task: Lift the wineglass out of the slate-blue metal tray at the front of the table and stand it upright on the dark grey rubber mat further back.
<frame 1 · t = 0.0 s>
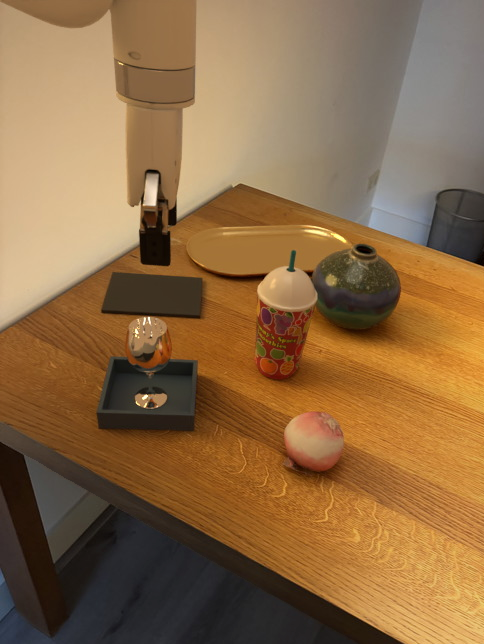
hand: (159, 243, 64), 22 cm above the table, tool pointing down, fingers open, 9 cm apart
smoothie: (275, 368, 84), on the table
onion: (308, 460, 71), on the table
serving platter: (272, 255, 111), on the table
wineglass: (151, 398, 75), resting on tray
tray: (151, 399, 75), on the table
vase: (347, 317, 97), on the table
mat: (154, 295, 95), on the table
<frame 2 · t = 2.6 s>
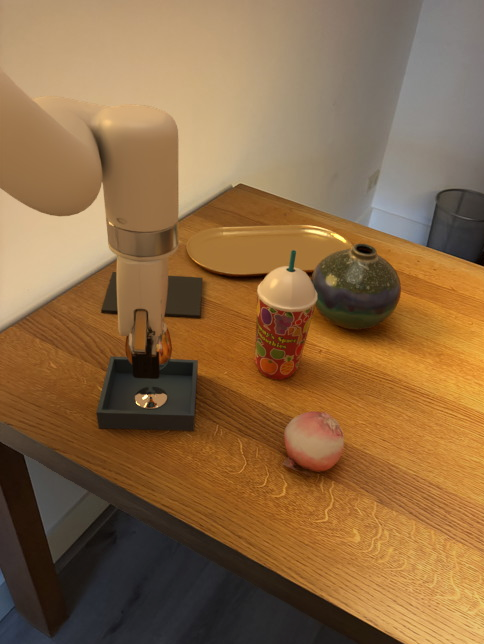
hand: (149, 359, 71), 7 cm above the table, tool pointing down, fingers closed on wineglass, 5 cm apart
wineglass: (151, 398, 75), resting on tray, touching gripper
everything else where it was.
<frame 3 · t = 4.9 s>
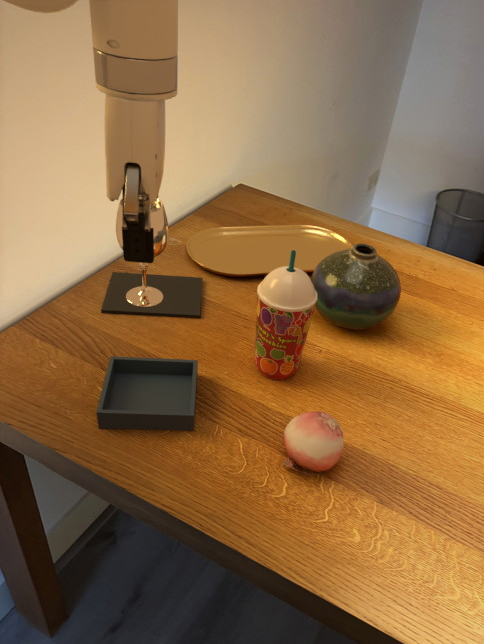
hand: (142, 245, 62), 22 cm above the table, tool pointing down, fingers closed on wineglass, 5 cm apart
wineglass: (144, 298, 67), point 15 cm above the table, touching gripper
everything else where it was.
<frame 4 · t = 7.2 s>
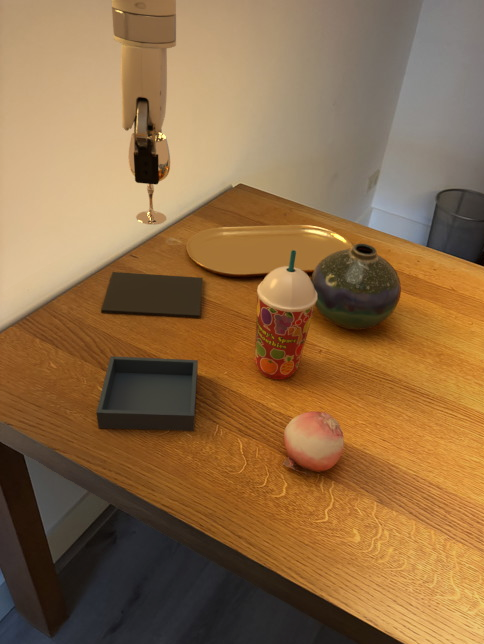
hand: (149, 172, 78), 22 cm above the table, tool pointing down, fingers closed on wineglass, 5 cm apart
wineglass: (151, 219, 83), point 15 cm above the table, touching gripper
everything else where it was.
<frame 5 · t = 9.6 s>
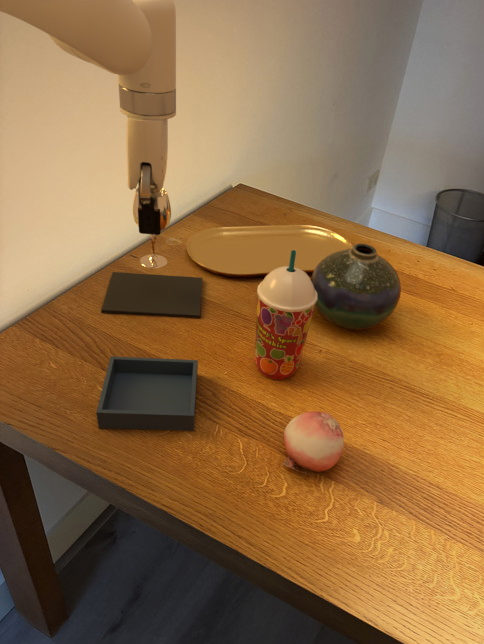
hand: (152, 222, 86), 14 cm above the table, tool pointing down, fingers closed on wineglass, 5 cm apart
wineglass: (153, 262, 90), point 7 cm above the table, touching gripper
everything else where it was.
when the fingers open (8 cm above the table, at t = 11.7 s): wineglass stays where it is, resting on mat.
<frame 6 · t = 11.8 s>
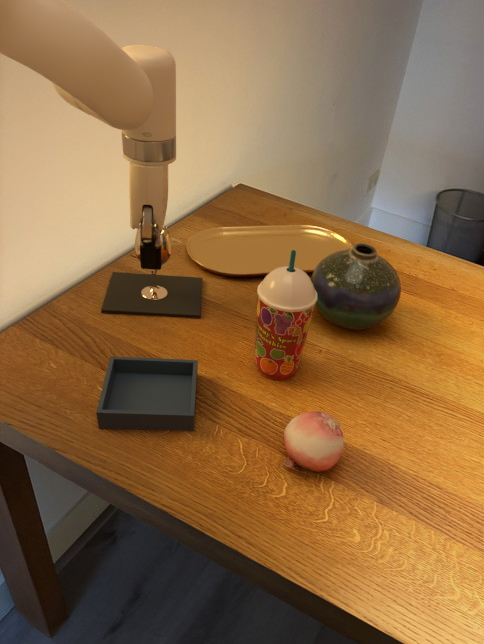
hand: (153, 257, 90), 8 cm above the table, tool pointing down, fingers open, 5 cm apart
wineglass: (154, 293, 94), resting on mat
everything else where it was.
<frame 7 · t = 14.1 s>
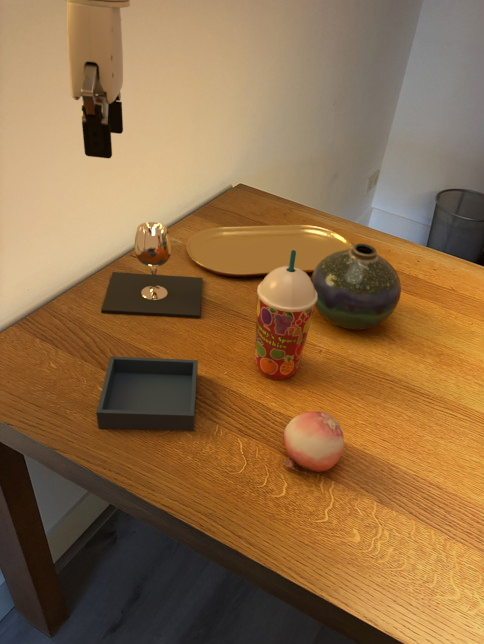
hand: (105, 143, 72), 27 cm above the table, tool pointing down, fingers open, 9 cm apart
nothing on the table moved.
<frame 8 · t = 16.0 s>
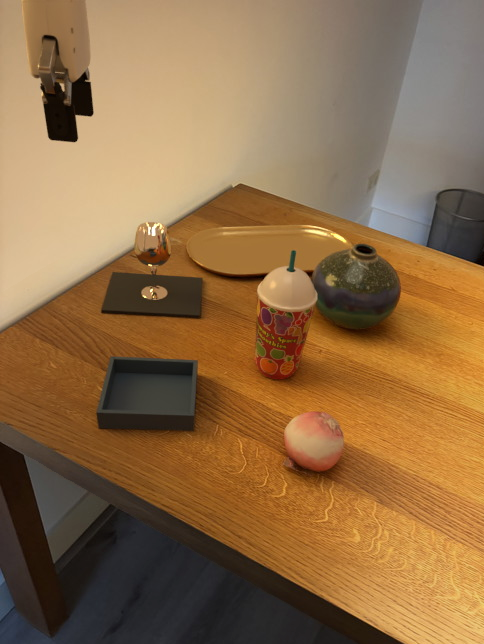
hand: (72, 126, 66), 30 cm above the table, tool pointing down, fingers open, 9 cm apart
nothing on the table moved.
at the end: wineglass inside the target area on the mat (0.1 cm from its centre), point 0.4 cm above the mat's base; wineglass tilted 0°; wineglass moved 26.0 cm from its start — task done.
